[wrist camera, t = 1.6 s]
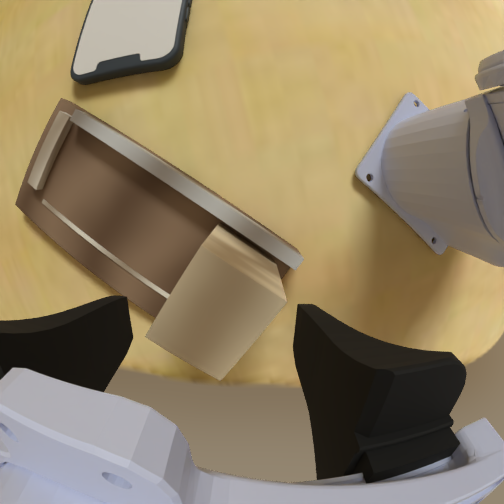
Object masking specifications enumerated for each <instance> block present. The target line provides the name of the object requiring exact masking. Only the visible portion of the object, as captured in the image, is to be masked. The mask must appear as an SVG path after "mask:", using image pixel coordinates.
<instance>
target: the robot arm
mask: <svg viewBox="0 0 504 504" xmlns="http://www.w3.org/2000/svg"><path fill="white" fill-rule="evenodd" d="M475 81H476V83H477V85H478V87H479V89H480V90H484V89H488V88H492V87H496V86H501V87H498V88H496V89H493V90H490V91H487V92H484V93H481V94H478V95H476V96H473V97H470V98H467V99H465V100H461V101H458V102H454V103H451V104H448V105H445V106H442V107H438V108H435V109H432V110H429V109H428V108H427V107H426V106H425V105H424V104H423V103H422V102H421V101H420V100H419V99H418V98H417V97H416V96H415V95H414V94H413V93H410V92H409V93H406V94H405V95H404V96H403V98H402V99H401V101H400V103H399V104H398V106H397V107H396V109H395V110H394V112H393V114H392V115H391V117H390V118H389V120H388V121H387V123H386V124H385V126H384V127H383V129H382V130H381V132H380V133H379V135H378V136H377V138H376V139H375V141H374V143H373V144H372V145H371V147H370V148H369V150H368V151H367V153H366V154H365V156H364V157H363V159H362V160H361V162H360V163H359V165H358V166H357V168H356V170H355V175H356V177H357V178H358V179H359V180H360V181H361V182H362V183H364V184H365V185H366V186H367V187H368V188H369V189H371V190H372V191H373V192H374V193H375V194H376V195H377V196H378V197H380V198H381V199H382V200H383V201H384V202H385V203H386V204H387V205H388V206H389V207H390V208H391V209H393V210H394V211H395V212H396V213H397V214H398V215H399V216H400V217H401V218H402V219H403V220H404V221H405V222H406V223H407V224H408V225H409V226H410V227H411V228H412V229H413V230H414V231H415V232H416V233H417V234H418V235H419V236H420V237H421V238H422V239H423V240H424V241H425V242H426V243H427V244H428V245H429V247H430V248H431V249H432V250H433V251H434V252H435V253H436V254H438V255H441V254H443V253H444V251H445V250H446V248H447V247H448V246H450V247H453V248H455V249H457V250H460V251H462V252H465V253H467V254H469V255H472V256H474V257H476V258H479V259H481V260H483V261H485V262H488V263H490V264H492V265H495V266H498V267H504V50H503V51H500V52H498V53H495V54H493V55H491V56H489V57H487V58H485V59H483V60H482V61H481V62H480V64H479V68H478V74H476V75H475ZM414 102H415V103H416V104H417V107H416V106H415V105H414ZM367 174H370V176H371V180H370V181H367V179H366V176H367ZM433 237H434V241H433V242H432V238H433ZM132 340H133V333H132V327H131V321H130V315H129V308H128V301H127V296H116V295H114V296H109V297H105V298H102V299H99V300H96V301H93V302H90V303H87V304H84V305H82V306H79V307H76V308H73V309H69V310H66V311H63V312H60V313H56V314H53V315H48V316H44V317H39V318H32V319H24V320H11V321H0V504H478V503H480V502H481V501H482V500H483V499H484V498H485V497H487V496H488V495H489V494H490V493H491V492H492V491H493V490H494V489H495V488H496V487H497V486H498V485H499V484H500V483H501V482H502V481H503V480H504V441H503V440H502V438H501V437H500V436H499V434H498V433H497V432H496V431H495V429H494V428H493V427H492V426H491V424H490V423H489V422H488V420H487V419H486V418H482V419H480V420H478V421H475V422H473V423H471V424H469V425H467V426H464V427H463V428H461V429H460V430H459V431H457V432H456V433H455V434H454V433H453V431H452V430H451V428H450V427H452V425H453V419H452V418H451V417H450V415H449V414H450V412H451V410H452V409H453V407H454V405H455V403H456V401H457V400H458V398H459V396H460V394H461V392H462V389H463V387H464V385H465V380H466V369H465V366H464V365H463V364H462V363H461V362H460V361H459V360H458V359H457V358H456V356H455V355H454V354H453V353H451V352H440V351H425V350H418V349H412V348H407V347H402V346H398V345H394V344H391V343H387V342H384V341H381V340H378V339H375V338H373V337H370V336H368V335H366V334H363V333H361V332H359V331H357V330H355V329H353V328H351V327H349V326H348V325H346V324H344V323H342V322H341V321H339V320H337V319H336V318H334V317H333V316H331V315H330V314H328V313H326V312H325V311H323V310H322V309H320V308H319V307H317V306H315V305H313V304H298V305H297V315H296V324H295V333H294V342H293V351H294V358H295V365H296V369H297V372H298V376H299V379H300V382H301V386H302V389H303V392H304V396H305V399H306V402H307V406H308V410H309V415H310V421H311V428H312V435H313V443H314V452H315V462H316V473H317V480H314V481H304V482H293V483H287V482H277V481H268V480H261V479H254V478H248V477H242V476H237V475H231V474H226V473H222V472H218V471H213V470H209V469H205V468H201V467H197V466H195V464H194V463H193V460H192V456H191V452H190V448H189V444H188V442H187V441H186V439H185V437H184V436H183V435H182V433H181V431H180V430H179V428H178V427H177V425H176V424H174V423H173V422H172V421H170V420H169V419H167V418H166V417H164V416H163V415H162V414H160V413H159V412H157V411H156V410H155V409H153V408H152V407H150V406H147V405H144V404H141V403H139V402H136V401H133V400H131V399H128V398H125V397H122V396H117V395H113V394H108V393H104V391H105V389H106V387H107V386H108V384H109V382H110V380H111V379H112V377H113V376H114V374H115V372H116V371H117V369H118V368H119V366H120V364H121V363H122V361H123V359H124V358H125V356H126V354H127V352H128V350H129V347H130V345H131V342H132Z"/></svg>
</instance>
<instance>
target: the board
mask: <svg viewBox="0 0 504 504" xmlns="http://www.w3.org/2000/svg"><path fill="white" fill-rule="evenodd" d="M15 205H16V206H17V207H18V208H19V209H20V210H21V211H22V212H23V213H24V214H26V215H27V216H28V217H29V218H30V219H31V220H32V221H33V222H34V223H35V224H36V225H37V226H38V227H39V228H40V229H41V230H42V231H44V232H45V233H46V234H47V235H48V236H49V237H50V238H51V239H53V240H54V241H55V242H56V243H57V244H58V245H59V246H61V247H62V248H63V249H64V250H65V251H66V252H68V253H69V254H70V255H71V256H72V257H74V258H75V259H76V260H77V261H78V262H80V263H81V264H82V265H83V266H85V267H86V268H87V269H88V270H90V271H91V272H92V273H93V274H95V275H96V276H97V277H99V278H100V279H101V280H103V281H104V282H105V283H107V284H108V285H109V286H111V287H112V288H113V289H115V290H116V291H117V292H119V293H120V294H121V295H123V296H127V299H128V300H130V301H131V302H133V303H134V304H136V305H137V306H138V307H140V308H141V309H143V310H144V311H146V312H147V313H149V314H150V315H152V316H153V317H155V318H156V317H157V315H158V314H159V312H160V310H161V309H162V307H163V305H164V304H165V302H166V300H167V299H168V297H169V296H170V294H171V292H172V291H173V289H174V287H175V286H176V284H177V283H178V281H179V279H180V278H181V276H182V275H183V273H184V271H185V270H186V268H187V267H188V265H189V264H190V262H191V260H192V259H193V257H194V256H195V254H196V253H197V251H198V250H199V248H200V246H201V245H202V244H203V242H204V241H205V240H206V239H207V237H208V236H209V235H210V234H211V232H212V231H213V230H214V229H215V227H216V226H217V225H218V223H220V224H222V225H223V226H225V227H226V228H228V229H229V230H231V231H232V232H234V233H235V234H237V235H238V236H240V237H241V238H243V239H244V240H246V241H247V242H249V243H250V244H252V245H253V246H254V247H256V248H257V249H259V250H260V251H262V252H263V253H265V254H266V255H268V256H269V257H271V258H272V259H274V260H275V261H276V265H277V268H278V271H279V275H280V278H281V279H282V278H283V276H284V275H285V274H286V272H287V271H288V270H289V268H290V267H291V268H293V269H294V270H296V269H297V268H298V266H299V265H300V264H301V263H302V261H303V260H304V258H303V257H302V255H301V254H300V252H299V251H298V249H297V248H295V247H294V246H292V245H291V244H289V243H288V242H287V241H285V240H284V239H282V238H281V237H279V236H278V235H277V234H275V233H274V232H272V231H271V230H269V229H268V228H266V227H265V226H264V225H262V224H261V223H259V222H258V221H256V220H255V219H253V218H252V217H250V216H249V215H248V214H246V213H245V212H243V211H242V210H240V209H239V208H237V207H236V206H234V205H233V204H231V203H230V202H228V201H227V200H225V199H224V198H222V197H221V196H219V195H218V194H216V193H215V192H213V191H212V190H210V189H209V188H207V187H206V186H204V185H203V184H201V183H200V182H198V181H197V180H195V179H194V178H192V177H191V176H189V175H188V174H186V173H185V172H183V171H182V170H180V169H178V168H177V167H175V166H174V165H172V164H171V163H169V162H168V161H166V160H164V159H163V158H161V157H160V156H158V155H157V154H155V153H154V152H152V151H150V150H149V149H147V148H146V147H144V146H142V145H141V144H139V143H138V142H136V141H135V140H133V139H131V138H130V137H128V136H127V135H125V134H123V133H122V132H120V131H118V130H117V129H115V128H114V127H112V126H110V125H109V124H107V123H105V122H104V121H102V120H101V119H99V118H97V117H96V116H94V115H92V114H91V113H89V112H87V111H86V110H84V109H82V108H81V107H79V106H77V105H76V104H74V103H72V102H70V101H68V100H65V99H63V98H61V99H60V101H59V103H58V104H57V106H56V108H55V110H54V112H53V114H52V116H51V117H50V119H49V121H48V123H47V125H46V127H45V129H44V132H43V134H42V136H41V138H40V140H39V142H38V145H37V147H36V149H35V151H34V154H33V156H32V159H31V161H30V164H29V166H28V169H27V171H26V174H25V177H24V180H23V182H22V185H21V188H20V191H19V194H18V197H17V201H16V204H15Z"/></svg>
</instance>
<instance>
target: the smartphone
mask: <svg viewBox="0 0 504 504" xmlns="http://www.w3.org/2000/svg"><path fill="white" fill-rule="evenodd" d="M191 3H192V0H92V1H91V3H90V6H89V9H88V12H87V14H86V17H85V20H84V23H83V26H82V29H81V33H80V36H79V39H78V43H77V47H76V50H75V54H74V58H73V62H72V66H71V77H72V79H73V80H74V81H76V82H78V83H80V84H83V85H87V84H91V83H95V82H99V81H104V80H108V79H113V78H118V77H123V76H128V75H134V74H140V73H146V72H153V71H161V70H166V69H169V68H171V67H173V66H174V65H176V64H177V63H178V62H179V60H180V59H181V57H182V55H183V49H184V42H185V35H186V28H187V23H188V20H189V14H190V7H191Z"/></svg>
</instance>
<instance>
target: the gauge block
mask: <svg viewBox="0 0 504 504" xmlns="http://www.w3.org/2000/svg"><path fill="white" fill-rule="evenodd" d="M286 303H287V299H286V295H285V292H284V288H283V285H282V282H281V278H280V275H279V271H278V268H277V265H276V261H275V260H274V259H272V258H271V257H269V256H268V255H266V254H265V253H263V252H262V251H260V250H259V249H257V248H256V247H254V246H253V245H252V244H250V243H249V242H247V241H246V240H244V239H243V238H241V237H240V236H238V235H237V234H235V233H234V232H232V231H231V230H229V229H228V228H226V227H225V226H223V225H222V224H220V223H218V225H217V226H216V227H215V229H214V230H213V231H212V232H211V234H210V235H209V236H208V237H207V239H206V240H205V241H204V242H203V244H202V245H201V246H200V248H199V250H198V251H197V253H196V254H195V256H194V257H193V259H192V260H191V262H190V264H189V265H188V267H187V268H186V270H185V271H184V273H183V275H182V276H181V278H180V279H179V281H178V283H177V284H176V286H175V287H174V289H173V291H172V292H171V294H170V296H169V297H168V299H167V300H166V302H165V304H164V305H163V307H162V309H161V310H160V312H159V314H158V315H157V317H156V319H155V320H154V322H153V324H152V325H151V327H150V329H149V331H148V332H147V334H146V336H145V337H146V338H148V339H149V340H151V341H152V342H154V343H156V344H157V345H159V346H160V347H162V348H164V349H165V350H167V351H168V352H170V353H172V354H173V355H175V356H177V357H178V358H180V359H182V360H183V361H185V362H187V363H189V364H190V365H192V366H194V367H196V368H197V369H199V370H201V371H203V372H205V373H207V374H208V375H210V376H212V377H214V378H216V379H218V380H220V381H221V380H222V379H223V378H224V377H225V375H226V374H227V373H228V372H229V371H230V370H231V369H232V368H233V366H234V365H235V364H236V363H237V362H238V361H239V359H240V358H241V357H242V356H243V355H244V354H245V353H246V351H247V350H248V349H249V348H250V347H251V345H252V344H253V343H254V342H255V341H256V340H257V338H258V337H259V336H260V335H261V334H262V332H263V331H264V330H265V329H266V328H267V326H268V325H269V324H270V323H271V321H272V320H273V319H274V318H275V317H276V315H277V314H278V313H279V312H280V310H281V309H282V308H283V307H284V305H285V304H286Z"/></svg>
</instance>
